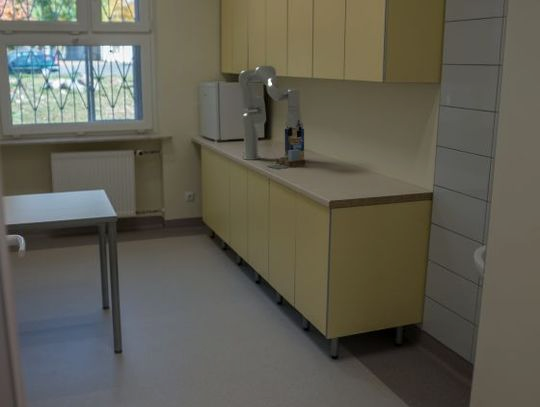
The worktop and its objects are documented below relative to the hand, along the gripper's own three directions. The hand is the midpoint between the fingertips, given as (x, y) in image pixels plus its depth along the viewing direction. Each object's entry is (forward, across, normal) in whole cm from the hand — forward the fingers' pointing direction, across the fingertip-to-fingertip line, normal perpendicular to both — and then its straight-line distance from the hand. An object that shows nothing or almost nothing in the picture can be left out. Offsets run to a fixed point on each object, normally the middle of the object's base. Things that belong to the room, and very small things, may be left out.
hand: (294, 136), depth 379 cm
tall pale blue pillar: (+19, -1, 0) cm, 19 cm away
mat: (+19, -3, -12) cm, 22 cm away
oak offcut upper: (+16, -11, 0) cm, 20 cm away
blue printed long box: (+19, -15, +10) cm, 27 cm away
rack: (+19, -5, 0) cm, 19 cm away
